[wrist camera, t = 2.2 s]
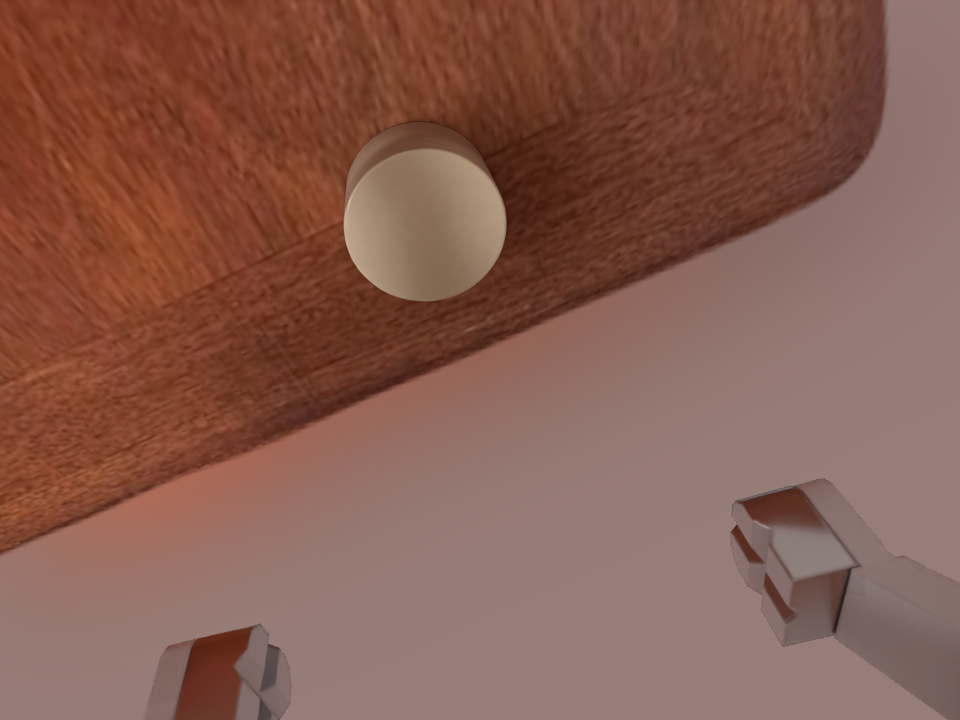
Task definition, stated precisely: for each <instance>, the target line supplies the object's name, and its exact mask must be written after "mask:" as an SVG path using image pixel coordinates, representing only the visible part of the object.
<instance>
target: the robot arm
mask: <svg viewBox="0 0 960 720" xmlns="http://www.w3.org/2000/svg"><path fill="white" fill-rule="evenodd" d="M732 516H733V518H734V520H735V521H736V523H737V525H736V526H735V528H734V529H733V530H732V531H731V549H732V553H733V557H734V560H735V562H736V565H737V567H738V570H739V572H740V574H741V576H742V577H743V579H744V581H745V583H746V585H747V586H748V587H750V588H751V589H753V590H755V591H756V592H758V593H760V594H761V595H762V605H761V611H762V613H763V614H764V616H765V618H766V619H767V621H768V623H769V625H770V626H771V628H772V630H773V631H774V633H775V635H776V637H777V638H778V640H779V642H780V643H781V645H782V647H785V646H789V645H793V644H798V643H802V642H806V641H811V640H815V639H820V638H824V637H829V636H833V635H835V637H834V638H835V639H836V640H838V641H839V642H840V643H842V644H843V645H845V646H846V647H847V648H849V649H850V650H852V651H853V652H854V653H856V654H857V655H859V656H860V657H861V658H863V659H864V660H865V661H867V662H868V663H870V664H871V665H872V666H874V667H875V668H877V669H878V670H879V671H881V672H882V673H884V674H885V675H886V676H888V677H889V678H891V679H892V680H893V681H895V682H896V683H898V684H899V685H900V686H902V687H903V688H904V689H906V690H907V691H909V692H910V693H911V694H913V695H914V696H916V697H917V698H918V699H920V700H921V701H923V702H924V703H925V704H927V705H928V706H929V707H931V708H932V709H934V710H935V711H936V712H938V713H939V714H941V715H942V716H943V717H945V718H946V719H948V720H960V583H958V582H956V581H954V580H952V579H950V578H948V577H946V576H944V575H942V574H940V573H938V572H936V571H934V570H932V569H930V568H928V567H926V566H924V565H922V564H920V563H918V562H916V561H914V560H911V559H910V558H907V557H906V556H900V557H895V558H894V556H893V555H892V554H891V553H890V552H889V551H888V549H887V548H886V547H885V546H884V545H883V544H882V542H881V541H880V540H879V539H878V538H877V536H876V535H875V534H874V533H873V532H872V531H871V529H870V528H869V527H868V526H867V525H866V523H865V522H864V521H863V520H862V518H861V517H860V516H859V515H858V514H857V513H856V511H855V510H854V509H853V508H852V507H851V506H850V504H849V503H848V502H847V501H846V499H845V498H844V497H843V496H842V495H841V494H840V492H839V491H838V490H837V489H836V488H835V487H834V485H833V484H832V483H831V482H829V481H828V480H826V479H817V480H813V481H810V482H806V483H803V484H799V485H795V486H788V487H784V488H780V489H777V490H773V491H769V492H766V493H762V494H758V495H755V496H751V497H747V498H744V499H740V500H736V501H735V502H734V504H733V505H732ZM268 638H269V633H268V632H267V631H266V630H265V629H264V628H263V626H262V625H261V624H257V625H253V626H249V627H244V628H240V629H236V630H232V631H228V632H224V633H219V634H215V635H211V636H207V637H203V638H197V639H194V640H190V641H186V642H182V643H178V644H174V645H171V646H168V647H167V648H166V650H165V651H164V653H163V654H162V656H161V657H160V660H159V664H158V667H157V671H156V674H155V678H154V681H153V685H152V688H151V692H150V695H149V699H148V703H147V706H146V709H145V713H144V717H143V720H280V718H281V717H282V715H283V714H284V712H285V711H286V709H287V708H288V706H289V704H290V698H291V677H290V668H289V665H288V662H287V659H286V657H285V655H284V653H283V652H282V651H281V649H280V648H278V647H275V646H273V645H270V644H268Z"/></svg>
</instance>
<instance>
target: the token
mask: <svg viewBox="0 0 960 720" xmlns="http://www.w3.org/2000/svg"><path fill="white" fill-rule="evenodd" d="M344 235H345V241H346V245H347V248H348V251H349V254H350V256H351V258H352V260H353V262H354V263H355V265H356V266H357V268H358V269H359V270H360V272H361V273H362V274H363V275H364V276H365V277H366V278H367V279H368V280H369V281H370V282H371V283H372V284H374V285H375V286H377V287H378V288H380V289H381V290H383V291H385V292H387V293H389V294H391V295H394V296H396V297H399V298H403V299H407V300H413V301H436V300H441V299H446V298H449V297H452V296H455V295H458V294H460V293H462V292H464V291H466V290H467V289H469V288H471V287H472V286H474V285H475V284H476V283H478V282H479V281H480V280H481V279H482V278H483V277H484V276H485V275H486V274H487V273H488V272H489V270H490V269H491V268H492V267H493V265H494V264H495V262H496V260H497V258H498V257H499V255H500V252H501V250H502V247H503V244H504V240H505V235H506V212H505V206H504V203H503V199H502V197H501V195H500V192H499V190H498V188H497V186H496V184H495V182H494V180H493V178H492V176H491V174H490V172H489V170H488V168H487V166H486V164H485V162H484V160H483V158H482V157H481V155H480V153H479V152H478V151H477V149H476V148H475V147H474V146H473V145H472V144H471V143H470V142H469V141H468V140H467V139H466V138H464V137H463V136H462V135H460V134H459V133H457V132H455V131H453V130H451V129H449V128H447V127H444V126H441V125H438V124H433V123H428V122H410V123H404V124H400V125H396V126H394V127H391V128H388V129H386V130H384V131H382V132H381V133H379V134H378V135H376V136H375V137H373V138H372V139H371V140H370V141H369V142H368V143H367V144H366V145H365V146H364V147H363V148H362V149H361V151H360V152H359V153H358V155H357V156H356V158H355V160H354V161H353V164H352V166H351V169H350V171H349V175H348V179H347V186H346V198H345V212H344Z"/></svg>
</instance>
